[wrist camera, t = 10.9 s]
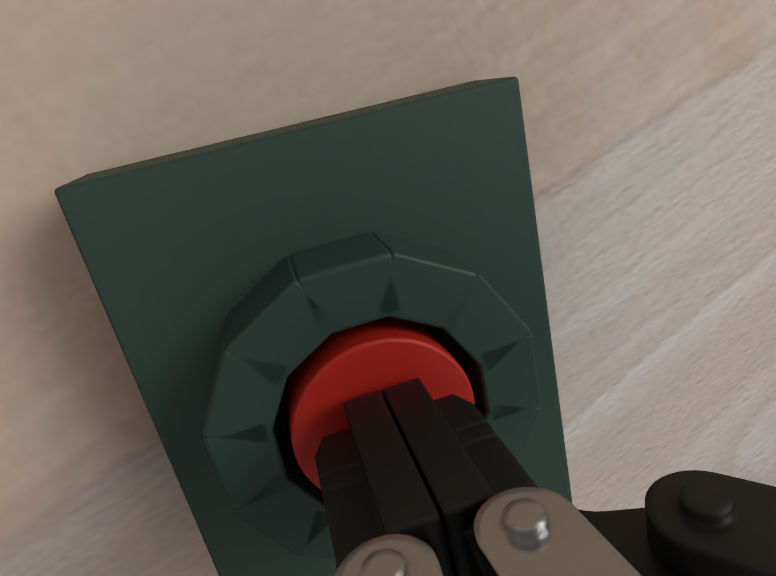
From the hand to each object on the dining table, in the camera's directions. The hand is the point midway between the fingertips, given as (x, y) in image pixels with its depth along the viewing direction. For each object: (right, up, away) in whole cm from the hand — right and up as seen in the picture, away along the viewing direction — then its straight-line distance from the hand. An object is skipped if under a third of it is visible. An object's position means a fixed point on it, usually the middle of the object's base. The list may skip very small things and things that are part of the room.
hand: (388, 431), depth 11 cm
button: (0, +1, +2) cm, 2 cm away
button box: (-1, +1, +4) cm, 4 cm away
